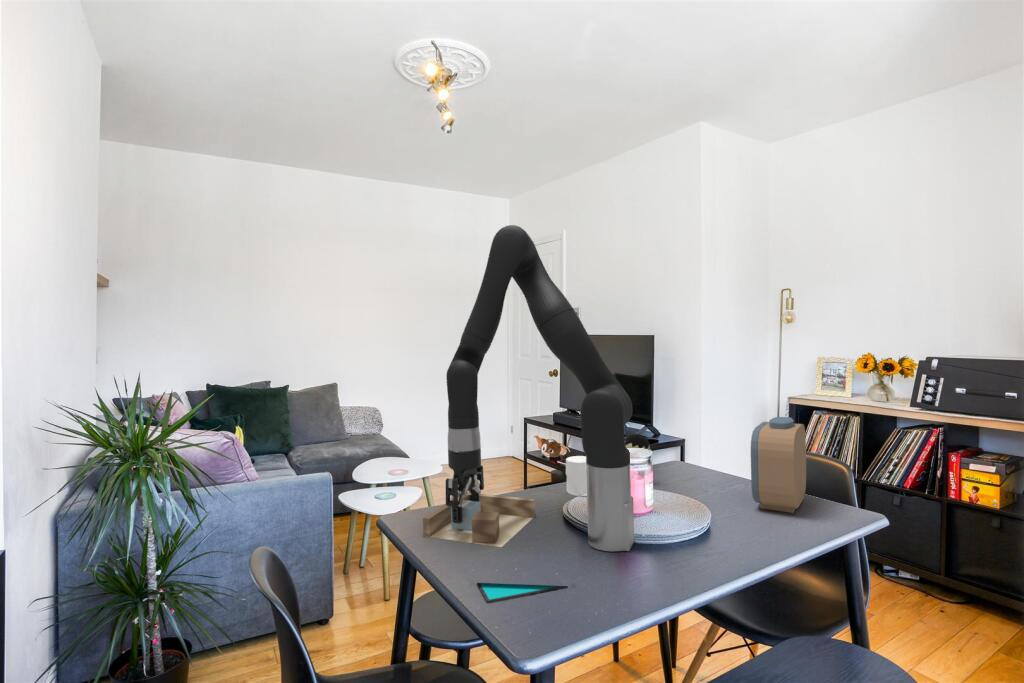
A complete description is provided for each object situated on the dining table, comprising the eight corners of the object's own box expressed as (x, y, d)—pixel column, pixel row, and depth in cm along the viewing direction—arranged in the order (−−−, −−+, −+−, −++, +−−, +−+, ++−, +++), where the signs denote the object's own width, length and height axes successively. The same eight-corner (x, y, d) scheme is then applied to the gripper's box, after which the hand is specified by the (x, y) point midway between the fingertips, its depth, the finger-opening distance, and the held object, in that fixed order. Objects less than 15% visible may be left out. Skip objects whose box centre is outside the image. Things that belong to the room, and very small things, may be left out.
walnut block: (499, 534, 117) (498, 512, 117) (495, 543, 112) (494, 520, 112) (477, 534, 117) (476, 511, 117) (472, 543, 112) (471, 519, 112)
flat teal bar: (476, 582, 96) (552, 568, 101) (476, 586, 96) (553, 572, 101) (487, 601, 89) (568, 585, 94) (487, 606, 89) (568, 590, 94)
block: (462, 520, 125) (461, 499, 125) (481, 523, 123) (480, 501, 123) (451, 528, 121) (450, 505, 121) (470, 530, 119) (470, 508, 119)
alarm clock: (767, 490, 146) (765, 412, 146) (806, 496, 141) (805, 415, 140) (751, 512, 130) (749, 424, 129) (795, 519, 124) (793, 427, 124)
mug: (559, 457, 153) (582, 454, 156) (559, 490, 153) (582, 485, 156) (582, 466, 142) (607, 462, 146) (583, 501, 142) (607, 496, 146)
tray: (535, 520, 128) (535, 499, 128) (501, 552, 110) (501, 527, 110) (466, 512, 136) (465, 492, 136) (423, 541, 117) (422, 517, 117)
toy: (650, 481, 158) (649, 431, 158) (654, 488, 151) (652, 436, 151) (621, 482, 159) (620, 432, 159) (623, 488, 152) (622, 436, 152)
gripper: (464, 439, 130) (466, 505, 130) (433, 452, 117) (436, 525, 117) (492, 441, 127) (494, 508, 127) (463, 454, 114) (466, 529, 114)
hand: (466, 516), depth 122 cm, fingers open, 8 cm apart
